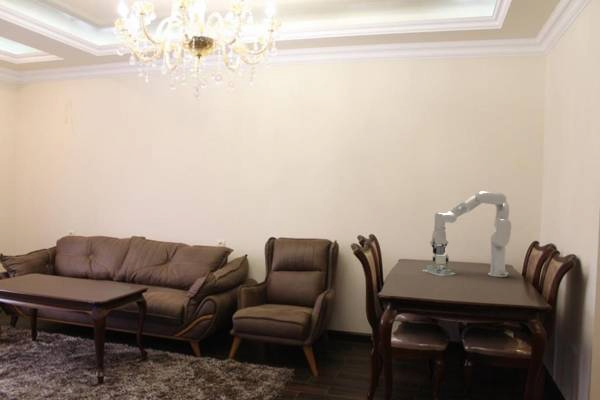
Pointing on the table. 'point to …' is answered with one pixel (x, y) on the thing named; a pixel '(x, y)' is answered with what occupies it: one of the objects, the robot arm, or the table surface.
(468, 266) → the table surface
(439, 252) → the hub
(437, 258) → the pneumatic valve
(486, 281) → the table surface
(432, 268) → the seat
